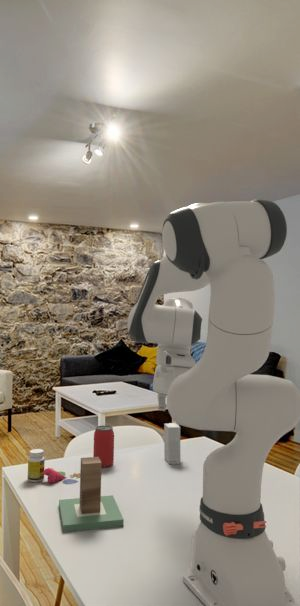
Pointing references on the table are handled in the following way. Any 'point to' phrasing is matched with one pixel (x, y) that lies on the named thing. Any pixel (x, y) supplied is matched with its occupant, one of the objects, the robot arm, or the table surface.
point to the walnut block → (90, 485)
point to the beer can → (104, 445)
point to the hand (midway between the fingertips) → (167, 412)
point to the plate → (89, 515)
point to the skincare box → (172, 443)
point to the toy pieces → (59, 476)
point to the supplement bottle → (36, 465)
